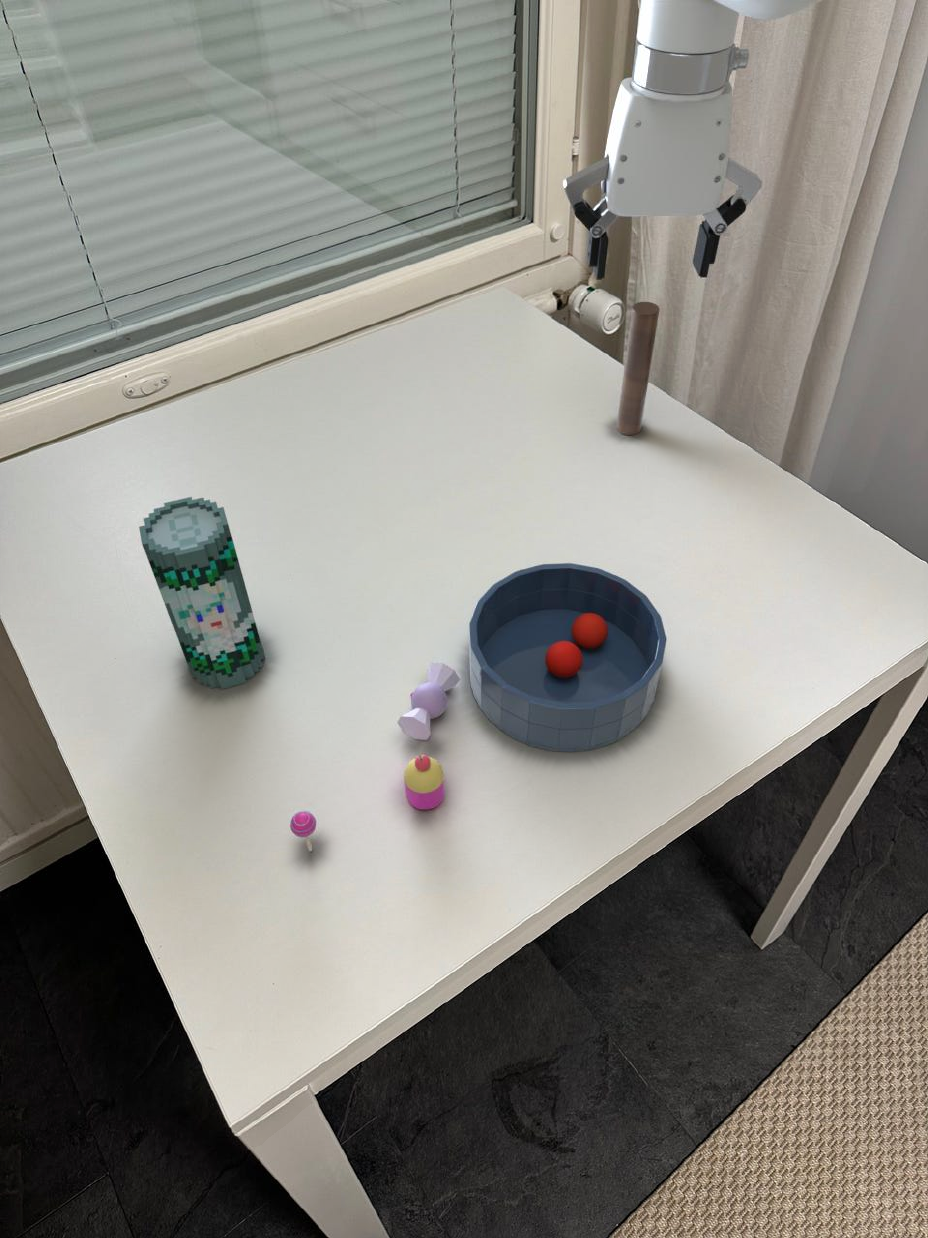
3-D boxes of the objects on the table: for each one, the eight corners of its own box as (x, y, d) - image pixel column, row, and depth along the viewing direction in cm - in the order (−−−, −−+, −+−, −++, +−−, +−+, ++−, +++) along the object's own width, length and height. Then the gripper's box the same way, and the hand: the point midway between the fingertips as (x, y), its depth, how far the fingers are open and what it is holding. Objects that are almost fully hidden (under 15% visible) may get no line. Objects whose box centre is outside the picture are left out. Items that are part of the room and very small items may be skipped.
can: (196, 696, 73) (145, 563, 61) (185, 643, 76) (135, 509, 65) (270, 675, 74) (233, 541, 63) (256, 625, 78) (218, 490, 67)
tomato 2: (603, 628, 76) (606, 604, 74) (608, 655, 74) (612, 631, 72) (568, 630, 76) (571, 606, 74) (572, 656, 74) (575, 632, 72)
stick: (638, 420, 98) (656, 300, 87) (642, 434, 96) (661, 314, 86) (614, 421, 98) (630, 301, 87) (618, 435, 96) (634, 314, 86)
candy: (402, 672, 74) (397, 622, 69) (492, 701, 72) (493, 652, 67) (293, 855, 63) (278, 811, 58) (395, 896, 61) (389, 853, 56)
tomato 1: (578, 656, 74) (581, 632, 72) (583, 685, 72) (586, 661, 70) (542, 658, 74) (544, 634, 72) (546, 686, 72) (548, 662, 70)
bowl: (638, 605, 79) (646, 560, 75) (671, 748, 68) (683, 704, 64) (466, 611, 79) (466, 566, 75) (474, 755, 68) (473, 712, 64)
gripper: (774, 50, 74) (730, 251, 87) (567, 53, 74) (553, 255, 86) (801, 80, 69) (749, 289, 82) (578, 84, 69) (561, 293, 81)
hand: (648, 271), depth 84 cm, fingers open, 9 cm apart
